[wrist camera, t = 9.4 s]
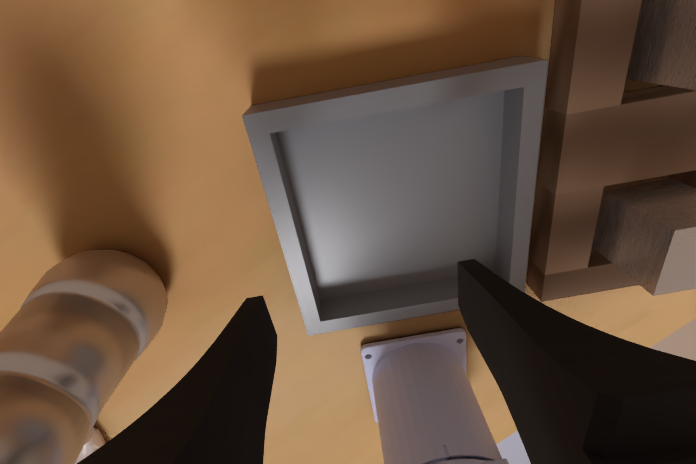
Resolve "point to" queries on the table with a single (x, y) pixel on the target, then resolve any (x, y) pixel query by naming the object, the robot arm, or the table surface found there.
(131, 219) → the table surface
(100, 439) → the sitting furry creature
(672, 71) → the block
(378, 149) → the tray
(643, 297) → the table surface
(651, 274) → the block
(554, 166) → the wooden board with recesses
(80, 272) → the plastic bottle
